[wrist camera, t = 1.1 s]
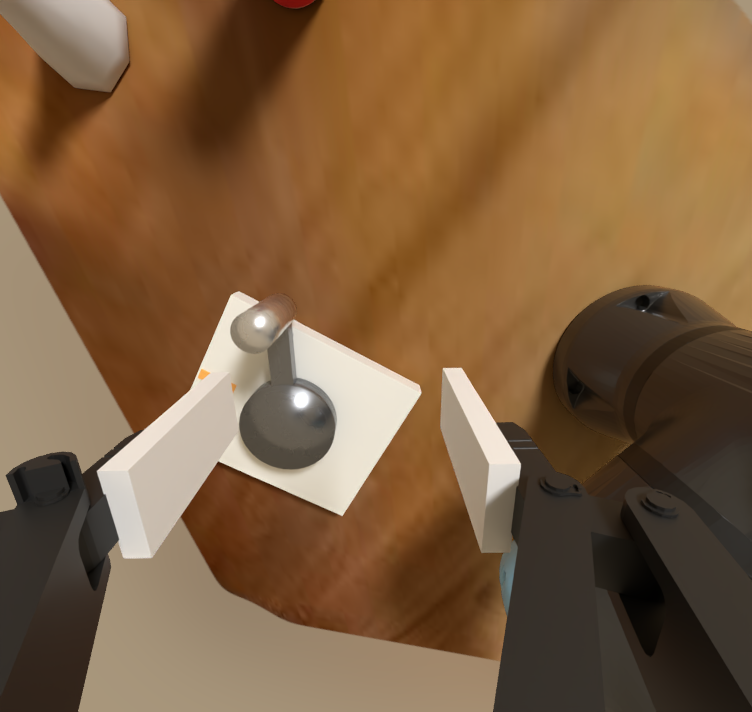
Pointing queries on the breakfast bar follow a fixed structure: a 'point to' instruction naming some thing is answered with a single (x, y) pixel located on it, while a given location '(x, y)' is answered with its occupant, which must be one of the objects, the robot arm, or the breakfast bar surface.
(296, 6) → the beverage can
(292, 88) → the breakfast bar surface
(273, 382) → the grey crank handle
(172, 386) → the breakfast bar surface
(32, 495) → the robot arm
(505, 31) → the breakfast bar surface
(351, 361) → the stand plate
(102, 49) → the flask
